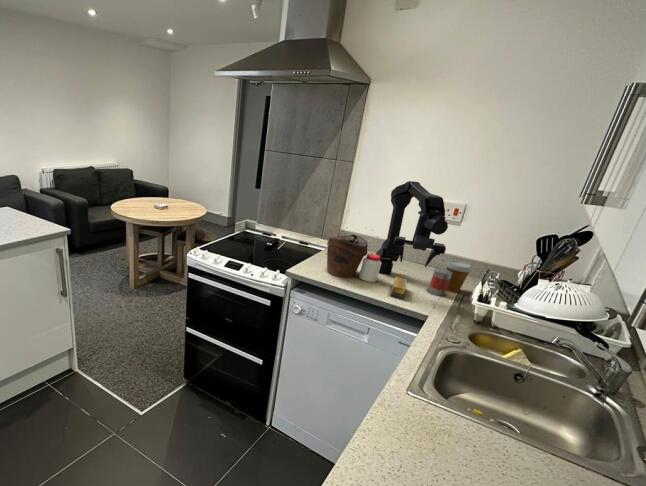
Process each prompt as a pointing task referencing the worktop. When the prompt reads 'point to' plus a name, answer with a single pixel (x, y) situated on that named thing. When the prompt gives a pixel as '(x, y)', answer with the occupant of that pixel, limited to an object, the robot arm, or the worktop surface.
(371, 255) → the pill bottle
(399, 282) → the golden brown bar
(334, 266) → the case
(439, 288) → the tin can
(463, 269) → the disposable coffee cup
